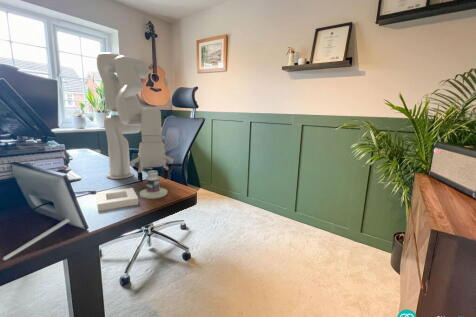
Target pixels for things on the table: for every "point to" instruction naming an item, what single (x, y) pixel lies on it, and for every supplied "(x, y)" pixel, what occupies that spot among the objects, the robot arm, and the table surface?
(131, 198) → the pocket holder
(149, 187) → the pill bottle
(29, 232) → the table surface
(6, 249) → the table surface
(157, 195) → the coaster
